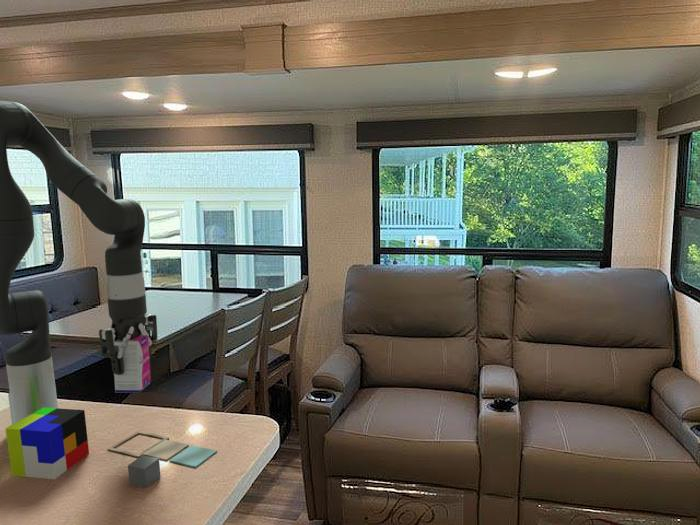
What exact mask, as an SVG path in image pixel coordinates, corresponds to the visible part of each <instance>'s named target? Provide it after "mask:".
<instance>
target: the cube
mask: <svg viewBox="0 0 700 525" xmlns="http://www.w3.org/2000/svg"><path fill="white" fill-rule="evenodd" d="M127 473H128V474H127V475H128V481H129V485H130V486H135V487H139V488H145V489H148V487H150V486H151V485H153V484H154V483H155V482H156V481H158V480H159V479H160V478H161V465H160V459H159V458H154V457H149V456H144V455H142V456H141V457H139V458H138V457H137V458H136V459H135V460H133V462H131V463H129V464H128V465H127Z"/></svg>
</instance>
